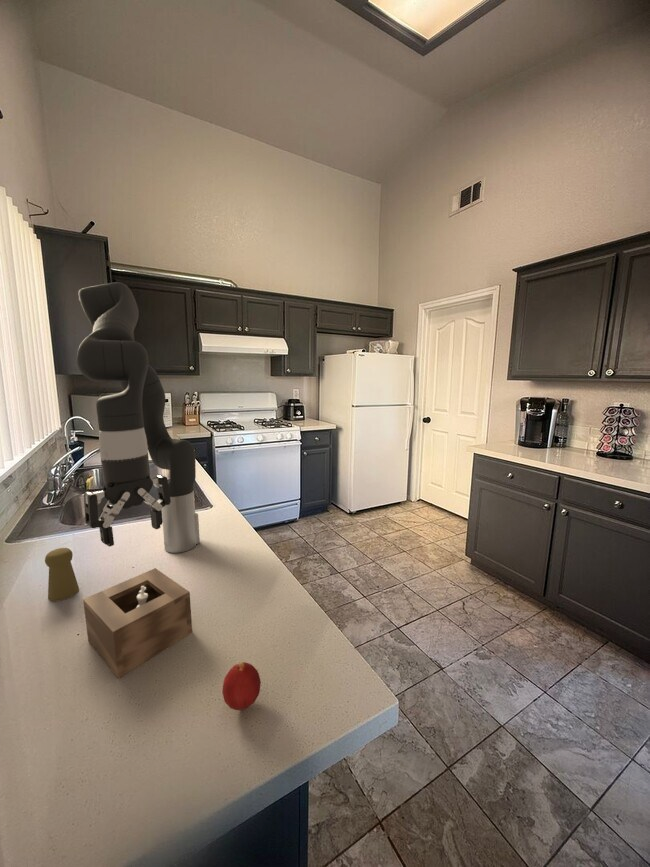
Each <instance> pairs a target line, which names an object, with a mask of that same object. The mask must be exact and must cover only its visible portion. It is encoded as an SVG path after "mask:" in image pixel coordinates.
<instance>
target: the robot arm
mask: <svg viewBox="0 0 650 867" xmlns="http://www.w3.org/2000/svg"><path fill="white" fill-rule="evenodd" d="M78 300H79V302H80V305H81V308H82V310H83V312H84V314H85V316H86V318H87V320H88V321H89V324H90V325H91V328H92V332H91V333H90V334H89V335H87V336H86V337H85V338H84V339H83V340H82V341H81V343H80V344H79V346H78V349H77V354H76V363H77V367H78V370H79V371H80V374H82V375H83V377H85V378H86V379H88V380H90V381H94V382H98V383H99V382H101V383H103V382H119V384H120V387H121V389H122V391H121V392H118V393H114V394H109V395H105V396H101V397H99V398H98V399H97V400H96V403H95V404H96V416H97V417H96V418H97V421H98V422H97V423H98V424H97V425H98V433H99V436H98V437H99V438H98V447H99V454H100V462H101V463H100V464H101V470H102V478H103V489H102V490H98V491H94V492H93V491H92V492H91V491H86V492H84V493H83V505H84V506H83V508H84V520H85V525H86V526H89V527H90V528H92V529H96V528H99V535H100V541H101V543H103V545H105V546H108V548H109V547H112V546H114V545H115V541H114V539H115V538H114V532H113V526H112V525H111V524H112V522H113V521H114V519H115V518H116V517H117V516H118V515H119V513H120V512H121V510H127V509H130V508H132V507H135V506H136V507H137V506H142V503H145V504H146V505H147V506H149V507H150V508H151V509H150V510H149V512H150V521H151V523H150V524H151V527H152V528H153V529H154V530H159V529H161V526H162V530H163V533H162V534H163V545H164V550H165V551H166V552H167V553H172V554H177V553H183V552H187V551H190V550H192V549H194V548H195V547H196V546H197V545H198V544H200V543H201V541H200V540H201V539H200V523H199V514H198V513H197V512H196V507H195V506H196V505H195V489H194V488H195V487H194V485H195V482H196V451H195V447H194V445H193V444H192V442H190V441H189V440H186V439H180V438H179V439H177V438H172V437H171V435H170V433H169V432H168V430H167V427H166V424H165V421H164V413H165V408H166V407H165V406H166V393H165V390H164V387H163V384H162V382H161V380H160V378H159V375H158V373H157V371H156V370H155V369H154V368H153V367H152V366H151V365H150V364H149V361H150V360H149V354H148V350H147V349H146V348H145V347H144V346H143V344H142V343H140V342H139V341H135V333H134V331H135V328H136V326H137V325H138V324H137V323H138V320H139V314H140V313H139V312H140V311H139V307H138V304H137V301H136V298H135V297H134V294H133V292H132V290H131V288H129V286H128V285H127V284H125V283H124V282H120V281H119V282H117V281H116V282H109V283H103V284H97V285H92V286H87V287H83V288H80V289H79V290H78ZM149 456H150V460H151V461H152V463H153V464H154V465H155V467H157V468H159V469H161V470H166V471H167V470H168V471H169V480H168V477H167V476H165V475H162V474H157V475H156V476H155V477H151V476H150V475H151V471H150V470H151V469H150V460H149ZM153 486H154V487H155V488H156V489H157V496H158V500H157V499H156V498H154V497H153V496H152V495H151V494H150V492H151V490H152V488H153ZM103 498H105V499H106V500H107V502H106V504H105V505H104V507H103V508H102V510H103V511H102V512H101V514H100V516H99V506H98V505H99V504H101V502H102V499H103ZM196 544H197V545H196Z"/></svg>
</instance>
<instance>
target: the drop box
mask: <svg viewBox="0 0 650 867" xmlns="http://www.w3.org/2000/svg"><path fill="white" fill-rule="evenodd" d="M141 586H144V587H146V590H145V591H144V593H147V594H148V598H147V600H146V603H145V604H143V605H141V606H139V607H137V605H139V603H138V600H137V595H138V594H139V591H140V590H141ZM190 593H191V592H190V591H189V590H188V589H186V588H184V587H183V586H182V585H180V584H179V583H178V582H176V581H174V579H172V578H170V577H169V576H167V575H166V574H164V573H163V572H162V571H160V570H159V569H157V568H152V569H150V570H148V571H146V572H143V573H141V574H138V575H136V576H135V577H134V576H133V577H131V578H129V579H127V580H124V581H122V582H120V583H118V584H115V585H113V586H111V587H108V588H106V589H104V590H102V591H99V592H97V593H94V594H92V595H90V596H88V597H87V596H86V597H85V598H83V599H82V603H83V610H84V616H85V617H84V618H85V626H86V634H87V642H88V643H90V645H91V646H92V647H93V649H94V650H95V651H96V652H97V654H98V655H99V656H100V658H101V659H102V660H103V661H104V663H105V664H106V665H107V666H108V667H109V669H110V668H111V669H110V670H111V671H112V672H113V674H114V675H115V677H118V679H119V678H121V677H123V676H124V675H126V674H128V673H129V672H132V671H133V670H134V669H136V668H137V667H139V666H141V665H142V664H143V663H146V662H147V661H149V660H150V659H151V658H153V657H155V656H156V655H158V654H160V653H162V652H163V651H164V650H166V649H169V647H171V646H173V645H174V644H176V643H177V642H179V641H180V640H182V639H184V638H185V637H187V636H189V635H190V634H192V633H193V621H192V608H191V606H192V605H191V595H190ZM136 607H137V608H136Z"/></svg>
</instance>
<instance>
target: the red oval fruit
mask: <svg viewBox="0 0 650 867" xmlns="http://www.w3.org/2000/svg"><path fill="white" fill-rule="evenodd" d="M261 685H262V682H261V677H260V673H259V671H258V669H257V668H256V667H255V666H254V665H252V664H251V663H247V662H245V661H244V662H241V661H240V662H238V663H237V664H235V665H233V666H232V667H231V668H230V669H229V670H228V671H227V674H226V675H225V676H224V679H223V684H222V697H223V700H224V703H225V704H226V705H227V706H228V707H229V708H230V709H232V710H234V711H243V710H245V709H247V708H250V707H251V706H252V705H254V703H255V702H256V700H257V699H258V697H259V695H260V692H261Z"/></svg>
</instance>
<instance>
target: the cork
mask: <svg viewBox="0 0 650 867" xmlns="http://www.w3.org/2000/svg"><path fill="white" fill-rule="evenodd" d="M73 554H74V553H73V551H72V550H71V549H70V548H68V547H60V548H55V549H53V550H50V551H49V552H48V553H46V554H45V555H46V556H45V557H44V562H45V564H46V567H48V585H47V586H48V588H47V599H48V601H51V602H59V601H64V600H66V599H69V598H71V597H73V596H75V595H76V594H77V593H78V592H79V590H80V587H79V583H78V580H77V577H76V573H75V570H74V568H73V564H72V560H73Z"/></svg>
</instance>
